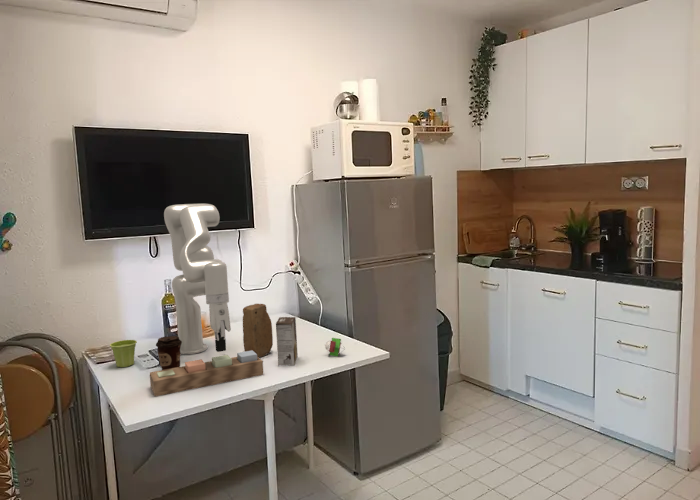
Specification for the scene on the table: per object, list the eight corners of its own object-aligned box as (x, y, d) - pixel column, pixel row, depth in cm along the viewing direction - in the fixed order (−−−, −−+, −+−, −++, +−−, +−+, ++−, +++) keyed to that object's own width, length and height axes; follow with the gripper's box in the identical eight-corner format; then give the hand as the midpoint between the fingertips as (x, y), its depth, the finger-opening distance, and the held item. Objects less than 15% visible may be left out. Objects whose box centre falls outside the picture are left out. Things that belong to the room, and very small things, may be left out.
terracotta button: (188, 378, 174) (188, 366, 174) (185, 373, 179) (184, 362, 178) (206, 375, 177) (205, 363, 176) (202, 370, 181) (201, 359, 181)
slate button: (242, 368, 182) (241, 357, 182) (237, 363, 187) (237, 352, 187) (257, 365, 185) (257, 354, 184) (252, 361, 190) (252, 350, 189)
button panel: (154, 396, 167) (153, 380, 167) (150, 386, 176) (149, 371, 175) (263, 374, 184) (262, 360, 183) (254, 366, 192) (253, 352, 192)
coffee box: (281, 358, 202) (279, 316, 200) (298, 357, 201) (296, 316, 200) (277, 366, 192) (275, 322, 191) (294, 365, 192) (292, 322, 190)
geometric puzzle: (336, 344, 209) (328, 332, 204) (350, 347, 205) (342, 334, 200) (327, 359, 205) (319, 346, 200) (342, 362, 201) (333, 349, 196)
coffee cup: (168, 378, 183) (165, 342, 182) (153, 375, 188) (150, 339, 186) (188, 371, 191) (185, 336, 189) (172, 367, 195) (170, 333, 193)
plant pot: (112, 363, 203) (110, 341, 202) (138, 359, 206) (136, 338, 205) (111, 370, 194) (109, 348, 193) (138, 366, 198) (137, 344, 197)
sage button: (216, 373, 178) (215, 361, 178) (212, 368, 183) (211, 357, 183) (232, 370, 181) (231, 358, 180) (228, 365, 186) (227, 354, 185)
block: (254, 359, 201) (251, 308, 198) (242, 356, 205) (239, 306, 203) (276, 352, 209) (273, 303, 207) (263, 349, 214) (260, 301, 211)
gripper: (234, 300, 174) (237, 354, 176) (222, 293, 187) (226, 343, 189) (211, 303, 171) (215, 358, 173) (201, 296, 184) (205, 347, 186)
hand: (221, 350), depth 181 cm, fingers closed
